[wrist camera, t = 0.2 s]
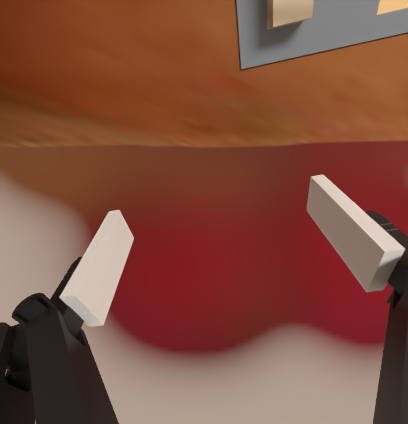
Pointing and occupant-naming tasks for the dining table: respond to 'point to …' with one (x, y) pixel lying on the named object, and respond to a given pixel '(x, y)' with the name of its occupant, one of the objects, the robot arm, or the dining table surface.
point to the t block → (288, 12)
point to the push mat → (316, 28)
